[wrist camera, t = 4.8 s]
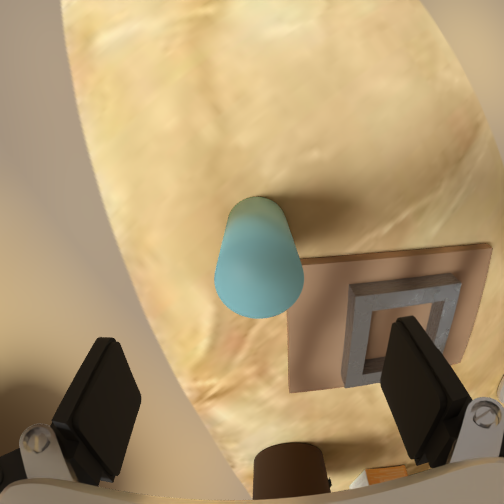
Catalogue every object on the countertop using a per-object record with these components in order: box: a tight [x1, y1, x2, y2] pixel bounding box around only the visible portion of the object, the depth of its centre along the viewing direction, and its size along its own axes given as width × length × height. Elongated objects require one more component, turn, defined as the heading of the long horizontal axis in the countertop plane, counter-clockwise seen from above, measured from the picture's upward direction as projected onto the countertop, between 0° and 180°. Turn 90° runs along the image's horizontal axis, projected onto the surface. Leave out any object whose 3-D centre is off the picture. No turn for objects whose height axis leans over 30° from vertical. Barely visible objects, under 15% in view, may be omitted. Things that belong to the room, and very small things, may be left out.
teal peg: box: [214, 197, 304, 318], centre depth 20 cm, size 4×4×9 cm
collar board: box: [287, 243, 492, 393], centre depth 26 cm, size 20×14×3 cm
